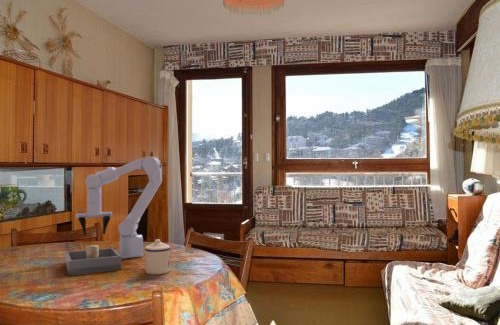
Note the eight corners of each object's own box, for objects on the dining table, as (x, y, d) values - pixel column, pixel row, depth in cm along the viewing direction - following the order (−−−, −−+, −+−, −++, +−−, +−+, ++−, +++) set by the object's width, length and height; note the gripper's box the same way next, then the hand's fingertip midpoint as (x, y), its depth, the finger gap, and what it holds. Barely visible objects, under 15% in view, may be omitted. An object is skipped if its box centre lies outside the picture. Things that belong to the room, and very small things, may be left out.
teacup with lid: (174, 272, 152) (174, 240, 152) (150, 276, 146) (150, 242, 147) (161, 266, 161) (161, 235, 162) (138, 269, 156) (138, 238, 156)
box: (113, 259, 172) (113, 247, 172) (121, 269, 156) (121, 256, 156) (65, 264, 164) (65, 252, 164) (68, 275, 148) (68, 261, 148)
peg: (96, 265, 163) (96, 244, 163) (100, 267, 160) (100, 246, 160) (84, 266, 160) (84, 246, 160) (88, 269, 157) (88, 247, 157)
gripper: (110, 201, 185) (110, 231, 185) (75, 202, 178) (75, 234, 178) (113, 202, 179) (113, 234, 179) (76, 203, 172) (76, 237, 172)
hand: (94, 234), depth 178 cm, fingers open, 7 cm apart
